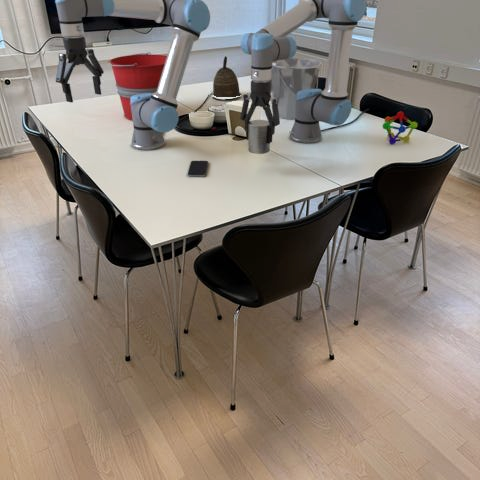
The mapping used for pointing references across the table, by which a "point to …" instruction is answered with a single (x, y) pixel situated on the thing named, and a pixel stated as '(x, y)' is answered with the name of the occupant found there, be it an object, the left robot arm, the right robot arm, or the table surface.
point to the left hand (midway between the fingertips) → (84, 97)
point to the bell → (225, 82)
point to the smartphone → (198, 168)
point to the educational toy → (398, 128)
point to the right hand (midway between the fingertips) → (259, 140)
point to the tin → (258, 137)
